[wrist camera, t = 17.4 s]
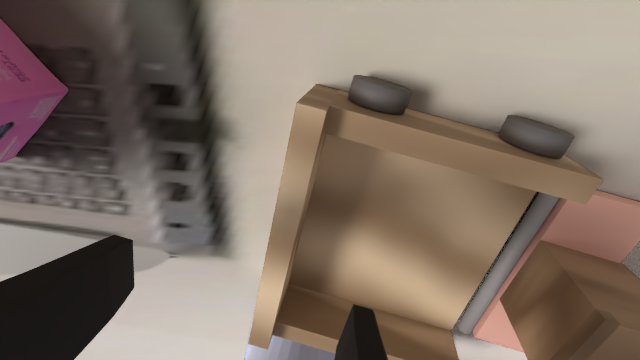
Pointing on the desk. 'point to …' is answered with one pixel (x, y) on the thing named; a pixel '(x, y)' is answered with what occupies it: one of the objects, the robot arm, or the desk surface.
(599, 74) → the desk surface
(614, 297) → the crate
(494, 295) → the tailgate
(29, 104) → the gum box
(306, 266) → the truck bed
